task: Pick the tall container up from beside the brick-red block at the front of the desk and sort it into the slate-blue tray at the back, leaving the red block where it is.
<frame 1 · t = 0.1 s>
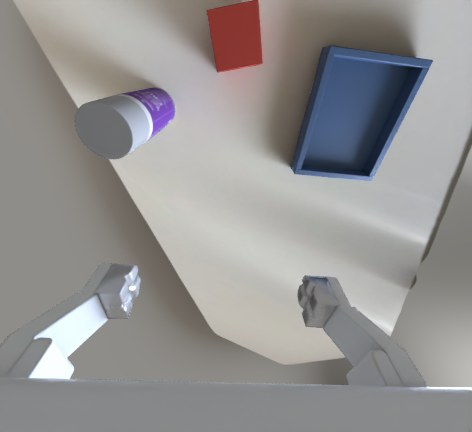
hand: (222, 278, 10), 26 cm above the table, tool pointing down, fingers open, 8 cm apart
tray: (345, 121, 31), on the table
red block: (235, 43, 26), on the table
container: (158, 107, 29), on the table
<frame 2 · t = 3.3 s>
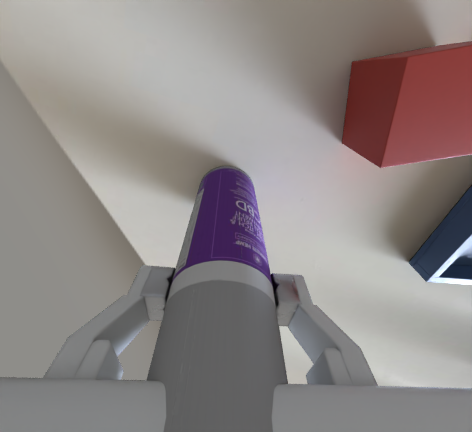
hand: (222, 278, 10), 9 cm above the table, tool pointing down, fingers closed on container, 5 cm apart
red block: (384, 99, 14), on the table
container: (226, 190, 18), on the table, touching gripper
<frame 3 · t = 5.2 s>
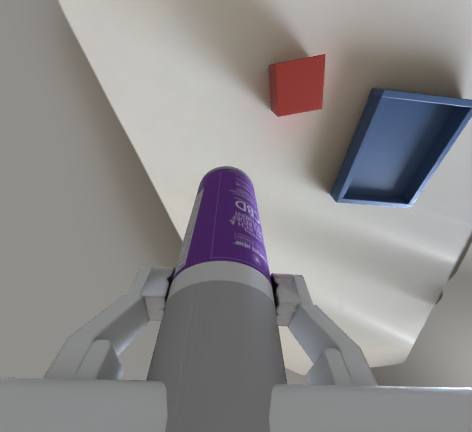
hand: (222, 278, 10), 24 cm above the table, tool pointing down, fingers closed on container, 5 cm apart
tray: (388, 152, 32), on the table
red block: (289, 85, 27), on the table
container: (226, 191, 18), point 15 cm above the table, touching gripper
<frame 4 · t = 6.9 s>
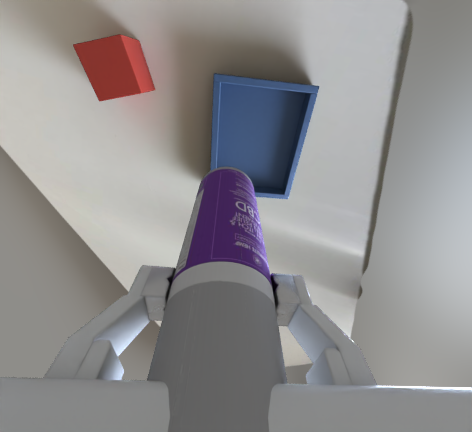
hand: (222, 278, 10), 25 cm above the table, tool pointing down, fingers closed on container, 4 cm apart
tray: (255, 141, 31), on the table
red block: (128, 70, 26), on the table
container: (226, 191, 18), point 16 cm above the table, touching gripper
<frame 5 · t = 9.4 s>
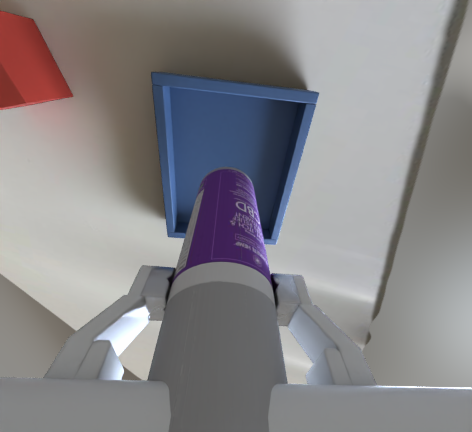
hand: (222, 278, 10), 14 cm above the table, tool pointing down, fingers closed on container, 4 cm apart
tray: (229, 168, 22), on the table
red block: (26, 66, 17), on the table
container: (226, 191, 18), point 5 cm above the table, touching gripper
when the fingers open (10 cm above the table, at t = 10.9 s): container stays where it is, resting on tray.
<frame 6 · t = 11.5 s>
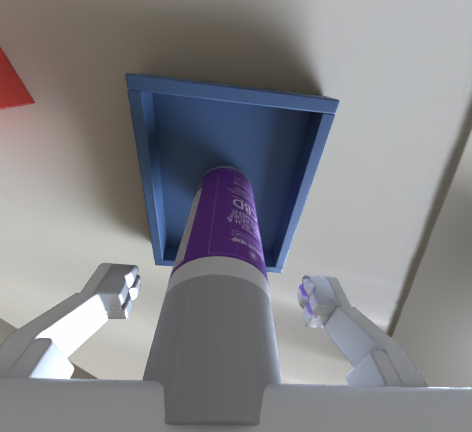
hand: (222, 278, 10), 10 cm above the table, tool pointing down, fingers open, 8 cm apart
tray: (226, 187, 19), on the table
container: (225, 190, 18), resting on tray
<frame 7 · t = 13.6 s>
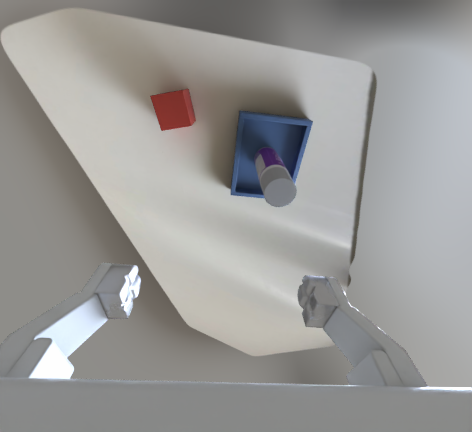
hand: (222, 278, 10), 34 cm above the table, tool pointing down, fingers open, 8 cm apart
tray: (266, 157, 42), on the table
red block: (178, 107, 37), on the table
container: (265, 158, 41), resting on tray
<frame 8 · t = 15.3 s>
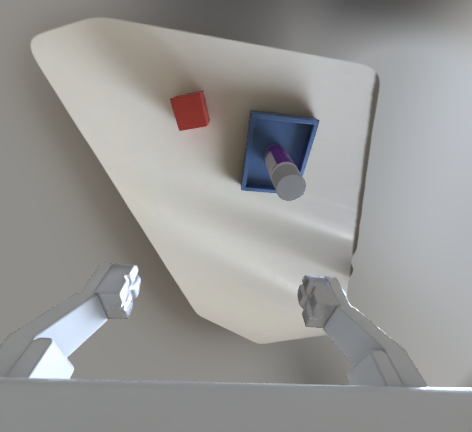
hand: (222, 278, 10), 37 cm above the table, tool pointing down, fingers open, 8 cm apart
tray: (274, 154, 44), on the table
red block: (193, 108, 39), on the table
container: (274, 155, 44), resting on tray
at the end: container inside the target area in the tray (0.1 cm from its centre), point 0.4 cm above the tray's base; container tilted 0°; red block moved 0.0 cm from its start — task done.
